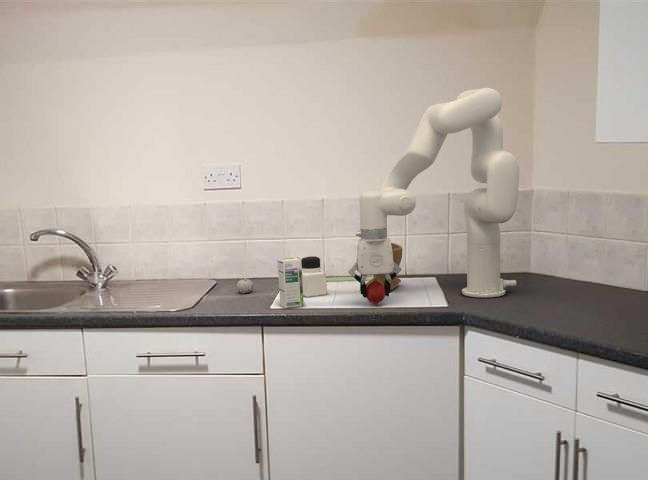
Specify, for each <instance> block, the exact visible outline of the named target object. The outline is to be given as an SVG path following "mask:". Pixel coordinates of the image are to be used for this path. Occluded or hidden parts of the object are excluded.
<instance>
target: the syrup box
mask: <svg viewBox="0 0 648 480" xmlns="http://www.w3.org/2000/svg"><path fill="white" fill-rule="evenodd" d="M301 259H302V258H301V257H298V256H291V257H281V258H277V273H278V274H277V276H278V287H279V288H278V291H279V304H280V306H281V307H283V308H284V309H292V308H298V307H299V308H300V307H304V304H305V303H304V296H303V284H302V264H301Z"/></svg>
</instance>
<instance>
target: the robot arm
mask: <svg viewBox="0 0 648 480" xmlns="http://www.w3.org/2000/svg"><path fill="white" fill-rule="evenodd" d="M502 107H503V98H502V95H501V94H500V92H499V91H498V90H496V89H494V88H492V87H482V88H474V89H469V90H465V91H463V92H460V93H459V94H458V95H457V97H456V99H455V100H451V101H449V102H442V103H441V102H440V103H435V104H432V105H431V106H429V107H428V108H426V110H425V112H424V113H423V116H422V118H421V119H420V121H419V123H418V126H417V128H416V130H415V132H414V133H413V136H412V138H411V139H410V142H409V145H408V147H407V148H406V150H405V151H404V153H403V154H402V155H401V156H400V157H399V159H398V160H397V162H396V163H394V165H393V166H392V168H391V169H390V171H389V172H388V174H387V175H386V177H385V178H384V181H383V183H382V186H381V187H380V189H379V190H369V191H363V192H361V193H360V195H359V220H360V222H359V225H360V229H359V230H358V231H355V237H358V238H359V239H358V242H357V250H356V262H355V263H354V264H353V265H352V267H351V268H349V270H348V272H347V273H348V274H349V275H350V277H354V278H355V279H356V280H357V281H356V282H358V283H359V290H360V291H359V293H360V295H362V297H363V298H364V299H367V298H366V297H367V289H366V281H367V280H366V277H367V276H374V275H378V274H384V277H385V282H384V288H385V297H390V293H391V292H392V290H391V287H390V283H391V282H392V280H393V279H394V278H395V277H397V275H399V273H400V272H401V271H402V268H401V266H400V265H399V266H398V265H397V264H396V263H395V262H394V261H393V252H392V245H391V243H392V241H391V238H389V237H388V218H387V217H388V216H397V217H404V216H407V215H410V214H411V213H412V212H413V211H414V210H415V208H416V207H417V199H416V196H415V194H413V192H411V191H409V190H408V188H409V186H410V184H411V183H412V181H414V179H416V177H418V175H420V174H421V173H422V172H424V171H425V170H427V169H428V168H430V167H431V166H432V165H433V164H434V163H435V161H436V159H437V157H438V155H439V153H440V150H442V149H441V148H442V146H443V144H444V143H445V140H446V139H447V137H448V134H456V133H459V132H462V131H465V130H467V129H470V131H471V136H472V141H471V143H472V145H471V159H470V174H471V177H472V179H473V180H474V181H476V182H477V183H480V184H486V187H479V188H476V189H475V188H474V189H473V190H471V191H470V192H469V193H468V194H467V195H466V197H465V199H464V203H463V211H464V212H463V214H464V218H465V223H466V287H464V288H462V289H461V295H463V296H466V297H471V298H480V299H481V298H484V299H485V298H498V297H502V296H505V294H506V288H507V287H509V288H510V287H517V280H516V279H510V280H509V279H504V278H503V277H502V278H501V229H500V225H499V224H504V223H507V222H509V221H510V220H511V219H513V217H514V215H515V212H516V210H517V206H518V196H519V195H518V194H519V182H520V166H519V162H518V159H517V158H516V157H515V155H514V154H513V153H511V152H509V151H506V150H504V148H503V147H504V131H503V125H502V122H501V120H500V118H499V116H498V114H499V113H500V111H501V109H502ZM394 268H395V270H394ZM393 270H394V271H393ZM356 271H357V272H358V274H360V276H359V275H358V274H357V273H356ZM389 273H391V274H390V275H389Z"/></svg>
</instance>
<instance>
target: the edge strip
mask: <svg viewBox="0 0 648 480" xmlns="http://www.w3.org/2000/svg"><path fill="white" fill-rule="evenodd" d="M373 278H374V275H367V277H366V280H365V281H370V280H371V279H373ZM326 282H358V281H357V280H356V279H355V278H354V277H353V276H331V277H330V276H329V277H327V276H326Z"/></svg>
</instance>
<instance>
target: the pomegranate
mask: <svg viewBox="0 0 648 480" xmlns="http://www.w3.org/2000/svg"><path fill="white" fill-rule="evenodd" d="M366 289H367V297H366V298H365V299H366V300H367V301H368V302H369V303H370V304H372V305H373V306H378V305H379V304H380V303H382V302H383V301H384V299H385V297H386V295H385V288H384V287H383V285H382V284H381V283H379V282H378V281H377V279H376V278H375V279H374V280H373V282H372V283H370V284H369V285H368V286H367V288H366Z"/></svg>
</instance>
